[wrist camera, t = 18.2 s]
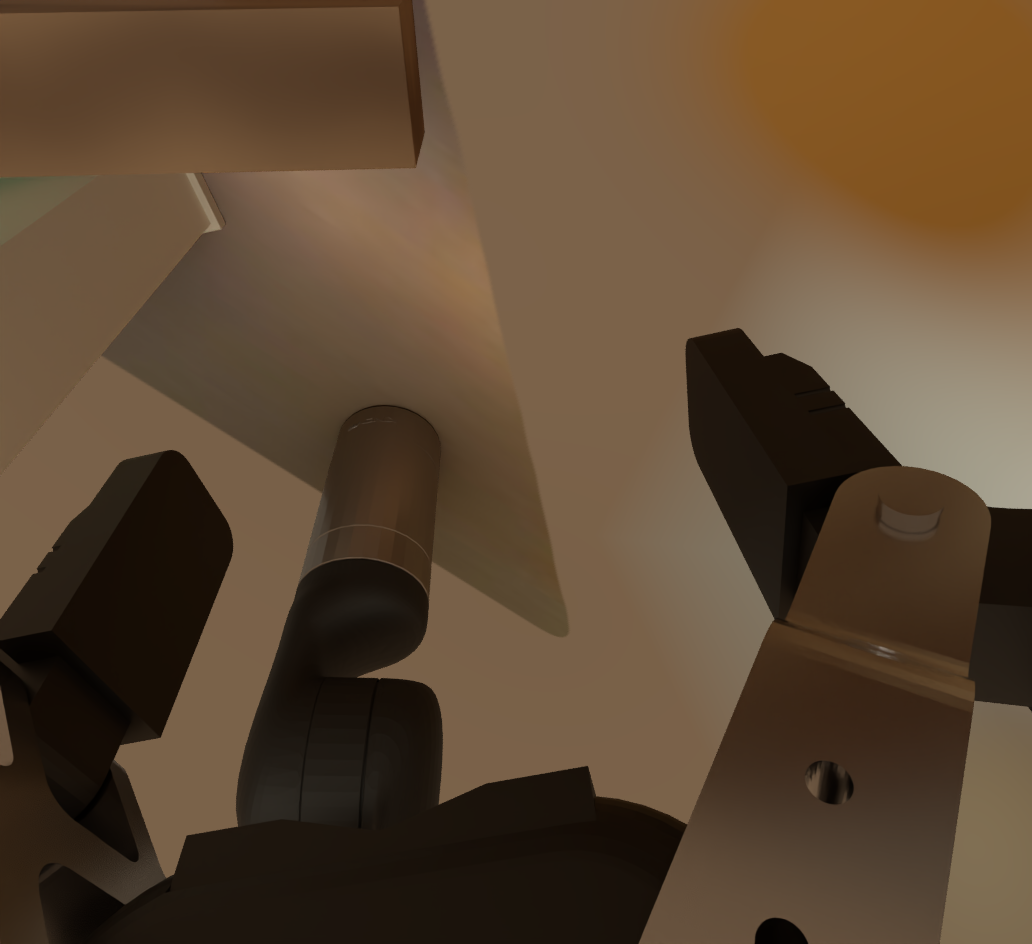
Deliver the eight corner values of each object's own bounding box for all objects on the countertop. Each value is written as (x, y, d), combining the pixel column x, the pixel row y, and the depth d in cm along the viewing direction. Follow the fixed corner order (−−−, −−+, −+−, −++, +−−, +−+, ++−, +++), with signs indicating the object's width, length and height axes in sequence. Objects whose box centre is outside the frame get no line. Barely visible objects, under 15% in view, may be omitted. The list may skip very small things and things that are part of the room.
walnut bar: (424, 132, 23) (415, 167, 20) (-220, 146, 22) (-329, 184, 19) (411, -10, 20) (398, 6, 17) (-321, 2, 20) (-467, 21, 17)
